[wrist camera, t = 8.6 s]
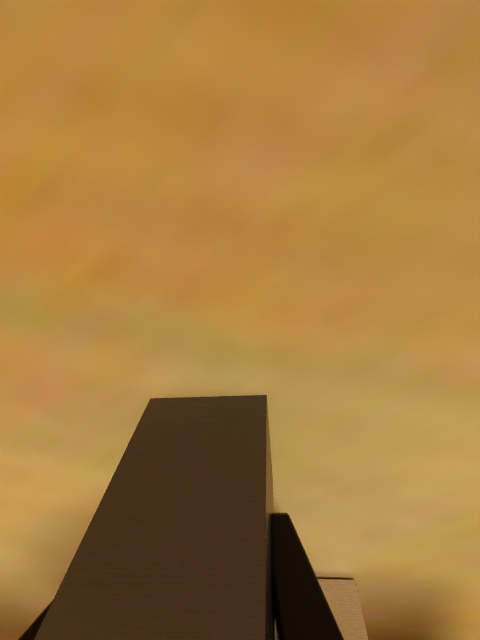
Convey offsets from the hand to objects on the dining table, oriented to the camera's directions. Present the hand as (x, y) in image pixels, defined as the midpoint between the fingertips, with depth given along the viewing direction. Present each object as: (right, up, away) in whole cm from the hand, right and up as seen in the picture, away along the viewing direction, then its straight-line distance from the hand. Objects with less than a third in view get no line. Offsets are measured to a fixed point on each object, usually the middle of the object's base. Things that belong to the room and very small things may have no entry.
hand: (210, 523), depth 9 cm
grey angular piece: (0, -1, +2) cm, 3 cm away
